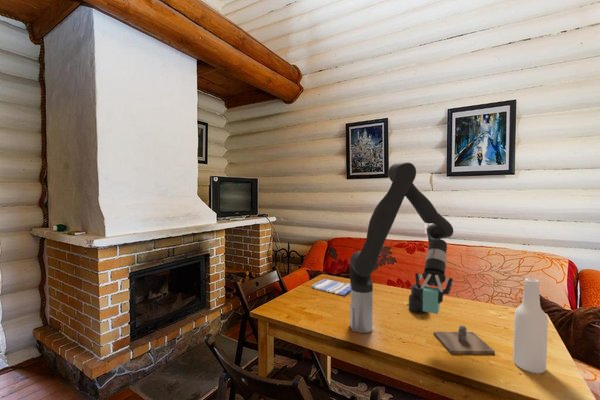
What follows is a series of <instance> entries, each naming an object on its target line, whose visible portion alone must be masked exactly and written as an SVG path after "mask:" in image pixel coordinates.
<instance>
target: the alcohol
mask: <svg viewBox="0 0 600 400" xmlns="http://www.w3.org/2000/svg"><path fill="white" fill-rule="evenodd" d="M523 284H524V288H523V295H522V302H521V304H520V305H519V306H517V308H516V309H515V311H514V319H513V320H514V321H513V322H514V324H513V325H514V326H513V352H512V353H513V355H512V356H513V357H512V359H513V362H514V364H515V365H516V366H517V367H518V368H520V369H521V370H523V371H526V372H527V373H531V374H538V375H539V374H540V375H541V374H543V373H544V372H546V371H547V359H548V357H547V354H548V331H549V330H548V327H549V325H548V324H549V320H548V316H547V314H546V313H545V311H544V310H543V309H542V306H541V301H540V280H538V279H536V278H531V277H530V278H529V277H526V278H524V283H523Z"/></svg>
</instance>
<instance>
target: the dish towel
mask: <svg viewBox="0 0 600 400" xmlns="http://www.w3.org/2000/svg"><path fill="white" fill-rule="evenodd" d="M313 288H314V289H315V290H316V291H320V290H321V292H324V291H326V292H325V293H328V292H330V293H329V294H332V293H335V294H334V295H336V294H339V295H338V296H340V295H343V296H342V297H346V296H348V295H350V294H351V293H350V292H351V283H348V282H340V281H337V280H332V279H328V278H324V279H322V280H320V281H318V282H315V283H313V284H312V285H311V289H313ZM349 293H350V294H349ZM347 294H348V295H347ZM345 295H346V296H345Z"/></svg>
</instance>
